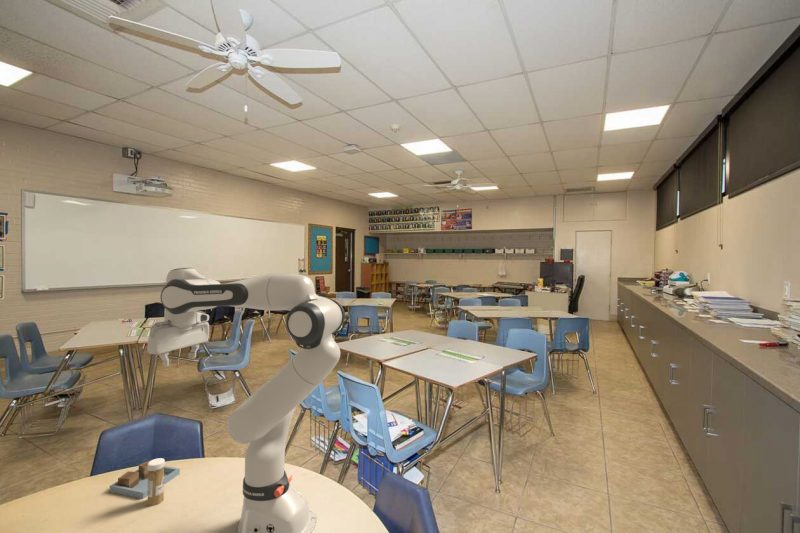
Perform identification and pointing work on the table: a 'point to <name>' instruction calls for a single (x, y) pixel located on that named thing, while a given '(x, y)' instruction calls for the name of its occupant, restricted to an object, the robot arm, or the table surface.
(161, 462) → the sprinkles bottle
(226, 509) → the table surface
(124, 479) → the walnut block
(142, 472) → the walnut block
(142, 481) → the tray
